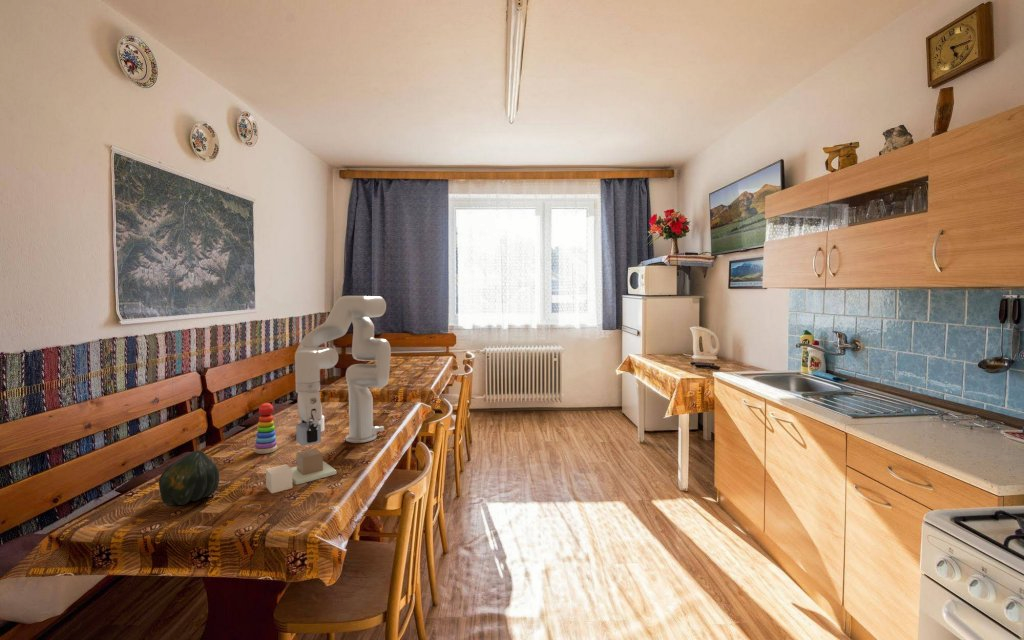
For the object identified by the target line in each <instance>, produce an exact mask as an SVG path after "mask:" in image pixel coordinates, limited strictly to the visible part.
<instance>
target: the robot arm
mask: <svg viewBox="0 0 1024 640" xmlns="http://www.w3.org/2000/svg"><path fill="white" fill-rule="evenodd" d="M386 310H387V302H386V300H385V298H383V296H379V295H377V296H375V295H372V296H371V295H368V296H367V295H343V296H340V297H339V298H338V299H337V300H336V301H335V303H334V305H333V306H332V309H331V310H330V312H329V314H328V316H327V318H326V319H325V321H324V322H323V323H322V324H320V325H318V326H317V327H315V328H314V329H312V330H310V331H309V332H308V333H306V335H305V336H304V337H303V338H302V339H301V342H300V343H299V344H298V347H297V349H296V350H295V354H294V366H295V368H294V369H295V393H296V394H297V417H298V418H299V424H300V423H306V422H307V426H308V431H307V442H308V443H311V442H316V441H317V440H318V435H317V429H318V427H317V426H318V422H319V421H318V420H321V405H322V403H321V395H320V391H321V370H323V369H324V370H326V369H332V368H334V367H335V366H336V365H337V363H338V362H339V353H338V351H337V349H334V347H333V348H332V347H327V346H326V347H325V346H321V345H323V344H325V343H328V342H329V341H334V340H336V339H339V338H341V337H343V336H345V335H346V333H347V332H348V330H349V328H350V326H351V324H352V327H353V329H352V330H353V334H352V345H351V355H352V358H353V359H354V360H356V361H362V362H367V361H368V362H369V361H370V362H375V364H374V363H372V364H370V363H356V364H355V363H354V364H351V365H350V366H348V367H347V369H346V371H345V380H346V384H347V390H348V425H349V426H348V430H349V432H348V434H347V435H345V442H348V443H352V444H360V443H368V442H371V441H374V440H375V439H377V438H378V435H377V433H378V432H381V431H384V430H385V427H384V426H383V425H380V426H379V425H375V426H374V414H373V413H374V411H373V410H374V408H373V407H374V405H373V404H374V402H373V401H374V399H373V394H372V392H371V390H370V389H369V388H384V387H385V386H387V385H388V383H389V379H390V371H391V370H390V368H391V358H392V357H391V356H392V354H391V353H392V349H391V344H390V342H389V341H388V340H387V339H385V338H375V325H374V323H373V321H372V320H371V318H380V317H382V316H383V315H384V314H385V312H386ZM310 419H313V421H310ZM310 423H313V424H311V426H310Z"/></svg>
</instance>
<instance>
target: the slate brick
mask: <svg viewBox="0 0 1024 640" xmlns="http://www.w3.org/2000/svg"><path fill="white" fill-rule="evenodd" d="M311 424H313V423H310V426H311ZM317 427H318V429H317V435H318V440H317V441H316V442H311V443H308V442H307V431H308V426H307V422H306V423H300V422H299V423H296V424H295V431H296V432H295V433H296V435H295V436H296V438H295V439H296V443H298V445H300V446H302V447H304V446H309V445H313V444H318V443H322V432H321V424H319V423H318V426H317Z"/></svg>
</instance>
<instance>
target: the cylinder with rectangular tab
mask: <svg viewBox="0 0 1024 640" xmlns="http://www.w3.org/2000/svg"><path fill="white" fill-rule="evenodd" d="M310 421H313V419H310ZM318 421H319V422H318V423H319V424H321V433H322V432H324V431H325V415H323V405H322V404H321V420H318Z"/></svg>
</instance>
